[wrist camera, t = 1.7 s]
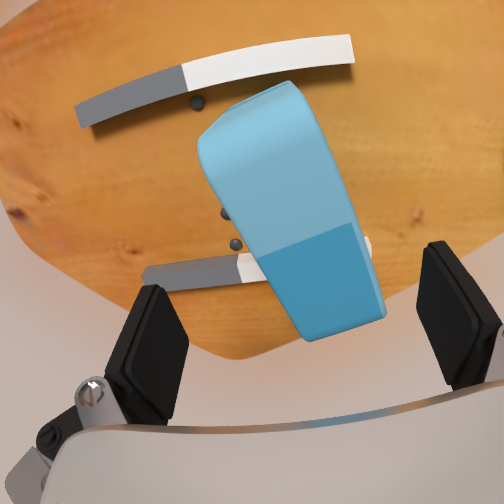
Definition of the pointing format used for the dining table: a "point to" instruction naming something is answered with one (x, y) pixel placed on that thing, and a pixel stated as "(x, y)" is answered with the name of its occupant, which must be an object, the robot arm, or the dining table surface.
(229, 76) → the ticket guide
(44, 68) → the dining table surface
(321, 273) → the blue rounded box
